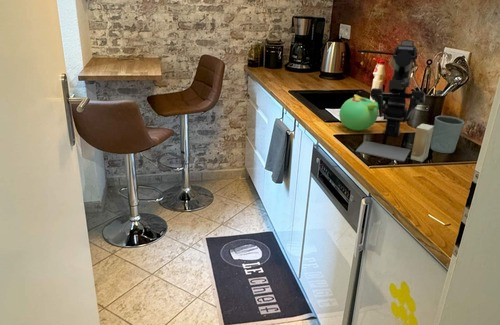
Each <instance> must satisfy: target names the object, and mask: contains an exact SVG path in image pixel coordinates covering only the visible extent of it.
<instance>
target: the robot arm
mask: <svg viewBox="0 0 500 325" xmlns="http://www.w3.org/2000/svg"><path fill="white" fill-rule="evenodd" d="M418 53H419V52H418V49H417V47H416V45H415V41H414V40H412V39H411V40H410V39H403V40H401V42H400V44H397V47H396V46H395V48H394V51H393V55H392V60H394V64H393V67H394V68H393V72H392V78H391V79H389V81H388V86H387V89H388V91H384V90H383V88H372V89H371V90H370V92H369V96H370V98H371V99H372V101H373V100H374V103H375V102H377V103H378V107H379V109H378V115H379V117H380V118H382V116H383V121H386V122H385V129H384V130H383V132H382V133H381V134H382V135H386V136H391V137H399V136H400V135H401V133H402V132H401V131H400V128H401V124H402V123H405V122H407V120H408V119H409V117H410V116H411V115H412V112H413V111H414V110H415V109H416V107H417V106H420V105H421V104H424V103H425V100H426V93H425V92H424V90H413V91H412V93H409V92H407V91H408V88H410V85H411V78H410V74H411V69H412V68H413V64H414V63H416V60H417V59H418ZM384 98H388V100H387V105H385V108H384V105H383V101H384V100H383V99H384ZM406 99H407V100H409V105H408V108H407V107H406V106H407V105H406V104H407V101H406ZM383 109H384V112H383Z"/></svg>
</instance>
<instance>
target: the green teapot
mask: <svg viewBox="0 0 500 325" xmlns="http://www.w3.org/2000/svg"><path fill="white" fill-rule="evenodd" d="M385 104H386V101H385V100H383V106H384V105H385ZM378 115H379V107H378V103H377V102H375V101H373V100H371V99H369V98H367V97H364V96H360V95H358V94H354V95H353V97H350V98H349V99H347V100H345V101H344V103H343V104H342V105H341V107H340V109H339V115H338V116H339V120H340V122H341V123H342V125H343V126H344V127H346V128H347V129H349V130H353V131H357V132H358V131H359V132H360V131H365V130H367V129H369V128H371V127H372V126H373V125H374V124H375V123H376V121H377V119H378Z"/></svg>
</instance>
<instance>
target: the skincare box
mask: <svg viewBox="0 0 500 325" xmlns="http://www.w3.org/2000/svg"><path fill="white" fill-rule="evenodd" d="M433 128H434V125H432V124H431V125H430V124H427V123H426V124H425V123H421V124H419V125H418V126H416V129H415V134H414V139H413V145H412V150H411V154H410V160H412V161H416V162H417V161H418V162H421V163H423V162H424V161H425V160H426V159H427V158H428V156H429V152H430V151H429V150H430V148H431V140H432V135H433Z"/></svg>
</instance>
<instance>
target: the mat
mask: <svg viewBox="0 0 500 325" xmlns="http://www.w3.org/2000/svg"><path fill="white" fill-rule="evenodd" d="M355 152H356V153H360V154H365V155H371V156H375V157H380V158H385V159H389V160H393V161H394V160H395V161H399V162H405V161H406V159H407V157H408V156H409V154H410V152H412V150H411V149H410V148H404V147H399V146H395V145H389V144H383V143H379V142H374V141H373V142H372V141H368V140H364V141H363V142H362V143H361V144H360V146H358V148H356V150H355Z"/></svg>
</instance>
